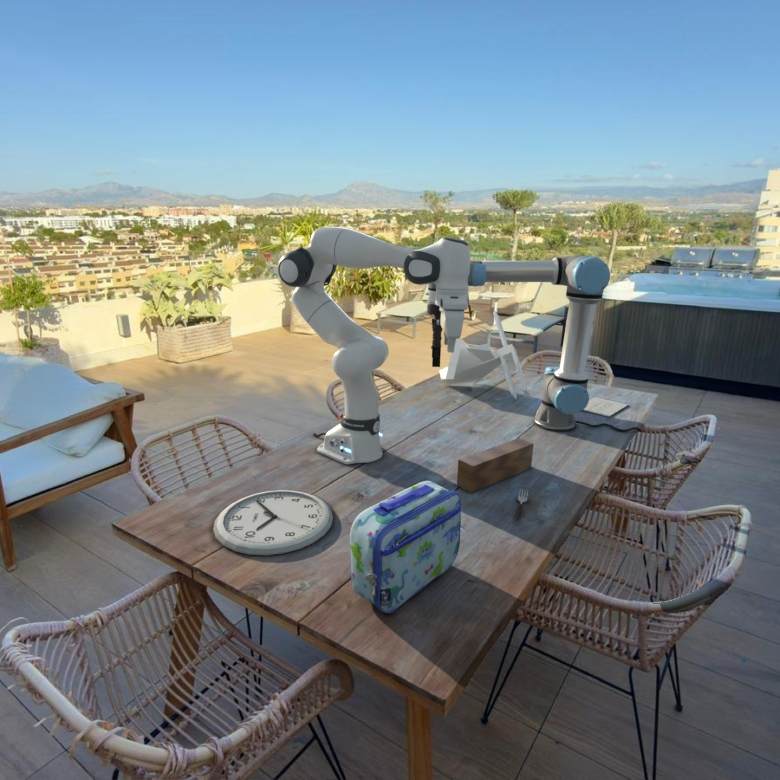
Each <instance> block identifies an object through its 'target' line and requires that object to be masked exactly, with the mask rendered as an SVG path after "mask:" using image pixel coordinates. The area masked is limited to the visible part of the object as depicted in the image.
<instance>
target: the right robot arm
mask: <svg viewBox="0 0 780 780" xmlns="http://www.w3.org/2000/svg"><path fill="white" fill-rule="evenodd" d="M610 280H611V271H610V268H609V266H608V265H607V263H606V261H604V260H602V259H601V258H599V257H597V256H592V255H591V256H590V255H584V254H580V255H572V256H561V257H554V258H553V259H552V260H470V273H469V276H468V287H483V286H485V284H486V283H551V284H552V285H553V286H564V287H566V293H565V297H566V298H567V300H568V302H569V304H568V310H567V316H566V323H565V330H564V336H563V343H562V349H561V356H560V364H559V366H554V365H553V366H547V367H545V369H544V373H543V381H542V382H543V384H542V394H541V402H540V405H539V407H538V409H537V411H536V413H535V417H534V424H535V425H536V426H537V427H539V428H542V429H544V430H549V431H556V432H567V431H572V430H574V429H575V428H576V424H578V425H582V426H587V427H590V428H598V427H608V428H611V429H613V430H615V431H617V432H622V433H627V432H631V431H633V430H634V431H635V430H636V431H637V432H640V433H643V430H642V429H641V428H639V427H637V426H632V427H630V428H625V429H624V428H618V427H617V426H614V425H612V424H610V423H607V422H602V423H597V424H593V423H592V424H591V423H588V422H584V421H580V420H577V419H576V418H575V417H576V416H575V414H578V413H580V412H582V411H584V410H583V409H584V408H585V407H586V406H587V404H588V402H589V400H590V395H589V391H588V390H587V388H588V383H589V375H588V374H587V373H586V366H587V361H588V357H589V356H588V355H589V351H590V350H589V349H590V343H591V338H592V331H593V326H594V321H595V313H596V306H597V304H598V303H599V302H601V301H602V300H603V294H604V290H605V289H607V287H608V285H609V283H610ZM425 296H427V303H426V304H427V305H426V313H427V314H428V315H431V316H433V318H431V328H432V330H431V331H432V341H431V342H432V343H431V344H432V345H431V346H430V349H431V358H432V360H431V362H432V363H431V367H432V368H441V355H442V354H441V352H442V338H443V337H442V332H443V329H442V327H441V323H440V320H441V311H440V306H438V305H436V304H435V301H436V284H435V283H431V284H427V292H426V293H425Z"/></svg>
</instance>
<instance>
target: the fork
mask: <svg viewBox="0 0 780 780" xmlns="http://www.w3.org/2000/svg"><path fill="white" fill-rule="evenodd" d="M526 490H527V488H525V489H521V487H519V492H518V495H517V501H518V502H519V505H518V507H517V508H516V509H517V510H516V521H518V520H519V518H520V515H521V513H522V511H523V503H526V502H527V501H528V495H529V490H527V491H526Z"/></svg>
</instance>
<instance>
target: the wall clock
mask: <svg viewBox="0 0 780 780" xmlns="http://www.w3.org/2000/svg"><path fill="white" fill-rule="evenodd" d="M333 520H334V516H333V511H332V509H331V507H330V506H329V505H328V503H327V502H325V501H324V500H322V499H321V498H320V497H318V496H315V495H313V494H310V493H307V492H303V491H298V490H287V489H286V490H285V489H280V490H279V489H277V490H267V491H262V492H258V493H257V492H256V493H253V494H250V495H247V496H245V497H241V498H240V499H238V500H236V501H234V502H233V503H230V504H229V505H228V506H227V507H225V508H224V509H223V510H222V511H220V512H219V513H218V516H217V517H216V518H215V519H214V523H213V529H212V530H213V533H214V536H215V540H217V541H218V542H219V543H220V544H221V545H222V546H223V547H225V548H227V549H229V550H231V551H233V552H236V553H241V554H244V555H249V556H250V555H251V556H252V555H253V556H273V555H281V554H282V555H283V554H286V553H292V552H294V551H299V550H301V549H304V548H305V547H307V546H310V545H312V544H314V543H316V542H317V541H319V540H320V539H321V538H323V537H324V536H325V535H326V534H327V533H328V532H329V530H330V529H331V527H332V525H333Z"/></svg>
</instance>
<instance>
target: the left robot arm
mask: <svg viewBox="0 0 780 780" xmlns="http://www.w3.org/2000/svg"><path fill="white" fill-rule="evenodd" d="M470 261H471V250H470V245H469V243H468V242H467V241H465V240H464V239H461V238H457V237H450V236H444V237H442V238H440V239H439V240H438V241H436V242H434V243H433V244H430V245H429V246H425V247H422V248H420V249H418V248H413V247H412V248H411V247H406V246H402V245H397V244H393V243H390V242H386V241H385V240H381V239H380V238H379V239H378V238H377V237H374V236H371V235H370V234H369V235H368V234H365V233H363V232H361V231H357V230H354V229H351V228H346V227H339V226H320V227H317V228H316V229H315V230H314V231H313V232H312V234H311V237H310V241H309V245H308V246H307V247H302V246H301V247H298V248H296V249H293V250H291V251H289V252H287V253H285V254H284V255H283V256H281V258H280V259H279V261H278V264H277V273H278V276H279V278H280V280H281V282H283V284H285V285H286V286H288V287H291V288H295V289H294V291H293V292H292V295H291V301H292V304H293V305H294V307H295V309H296V311H297V312H298V313H299V315H300V316H301V317H302V319H303V320H304V321H305V322H306V323H307V324H308V326H309V327H310V328H311V329H312V330H313V331H314V332H315V333H316V335H318V336H319V338H320V339H321V340H322V341H323V342H324V343H326V344H328V345H331V346H333V347H335V348H337V349H338V350H337V351H336V352H335V353H333V356H332V359H331V367H332V370H333V371H334V374H335V375H336V376H337V377H339V379H340V382H341V385H342V389H343V396H344V397H343V398H344V399H343V400H344V412H343V413H341V414H340V415H338V416H337V420H340V422H339V423H338V424H336V425H335V426H334V427H332V428H330V429H329V430H327V432H320V433H319V434H317V433H315V432H314V433H312V435H313V436H314V437H316V438H319V437H321V436H324V440H323V442H322V443H321V444H319V445H318V447H317V448H316V452H317V453H318V454H321V455H323V456H325V457H327V458H330V459H332V460H334V461H337V462H339V463H340V464H341V463H342V464H343V465H354V464H366V463H372V462H376V461H378V460H380V459H381V458H382V457H383V455H384V452H383V449H382V445H381V439H380V437H383V433H381V432H380V427H381V414H380V413H379V405H380V404H379V401H380V399H379V390H378V389H377V387H375V384H374V380H373V372H374V371H375V370H377V369H378V368H380V367H381V366H383V364H384V363H385V362H386V360H387V359H388V356H389V351H390V350H389V346H388V344H387V342H386V341H385V340H384V339H383V338H382V337H380V336H377V335H374V334H373V333H371V332H370V331H368V330H366V329H365V328H364V327H362V326H361V325H360V324H358V323H357V322H355V321H354V320H353V319H352V318H351V317H350V316H348V314H347V313H346V312H345V311H344V310H343V309H342V307H340V306H339V305H338V304H337V303H336V302H335V300H334V299H333V298H332V297H331V296H330V295H329V294H328V293H327V291H326V289H325V287H326V286H328V285H330V283H331V280H332V278H333V276H334V275H335V273H336V271H337V267H342V268H345V269H353V270H365V269H370V268H371V269H373V268H380V267H394V268H398V269H402V270H403V272H404V276H405V277H406V279H407V280H408V281H409V282H410V283H411V284H413V285H417V286H424V285H425V286H426V285H428V284H431V283H435V284H436V301H435V304H436V305H438V306H440V311H441V320H440V323H441V327H442V332H443V344H444V345H445V346H446V351H447V352H448V353H451V352H452V353H453V352H454V346H455V342H456V339H461V337H462V333H463V326H464V318H465V311H467V309H468V304H469V303H468V302H469V301H468V300H469V289H470V288H469V287H470V286H468V276H469V273H470Z"/></svg>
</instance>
